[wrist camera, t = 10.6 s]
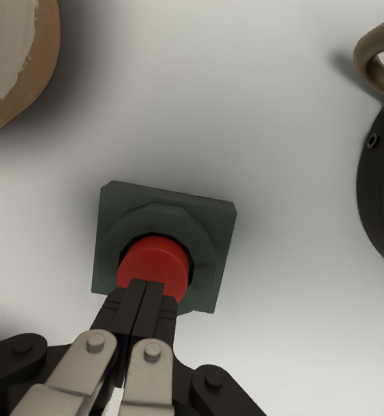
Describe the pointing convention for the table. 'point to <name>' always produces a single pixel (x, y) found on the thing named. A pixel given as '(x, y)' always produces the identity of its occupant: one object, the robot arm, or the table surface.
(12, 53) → the vase
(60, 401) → the robot arm
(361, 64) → the lamp
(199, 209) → the box
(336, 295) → the table surface
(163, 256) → the button
